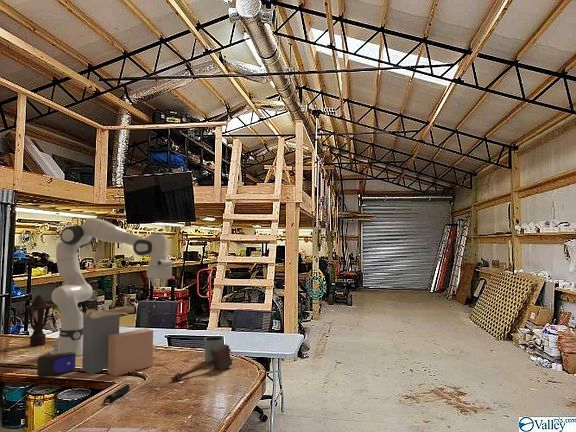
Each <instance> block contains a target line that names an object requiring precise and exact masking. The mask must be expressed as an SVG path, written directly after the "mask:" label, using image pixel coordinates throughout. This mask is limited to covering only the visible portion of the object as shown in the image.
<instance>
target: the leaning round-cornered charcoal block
mask: <svg viewBox="0 0 576 432" xmlns="http://www.w3.org/2000/svg"><path fill="white" fill-rule="evenodd" d="M76 357H77V356H76V354H75V352H67V353H59V354H52V355H51V354H46V355H41V356H38V357H37V360H36V361H37V365H36V367H37V369H36V375H37V376H38V377H41V378H42V377H54V376H55V377H56V376H62V375H66V374H69V373H72V372H74V371H75V369H76Z"/></svg>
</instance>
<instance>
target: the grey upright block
mask: <svg viewBox="0 0 576 432" xmlns="http://www.w3.org/2000/svg"><path fill="white" fill-rule="evenodd" d="M120 315H121V314H117V315H110V316H103V317H101V318H95V319H92V318H88V317H86V316H83V354H82V367H81V370H82V372H84V373H87V374H89V375H93V374H98V373H101V372H100V371H101V370H103V369H108V335H113V334H119V333H120V317H121V316H120Z"/></svg>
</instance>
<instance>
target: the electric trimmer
mask: <svg viewBox="0 0 576 432" xmlns="http://www.w3.org/2000/svg"><path fill="white" fill-rule="evenodd" d="M128 391H130V385H129V384H126V385H124V386H123V387H121V388H119V389H117V390H115V391H114V392H112V393H111V394H108V395H107V396H106V397H105V398H104V399H103V402H102V404H103V403H112V404H113V403H114V402H115V400H118V399H119V398H120V397H121V398H122V397H123V396H125V395H126V394H127V392H128Z"/></svg>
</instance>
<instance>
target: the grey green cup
mask: <svg viewBox="0 0 576 432" xmlns="http://www.w3.org/2000/svg"><path fill="white" fill-rule="evenodd" d="M203 340H204V342H203V343H204V357H205V358H204V361H205V363H208V362H210V361H211V360H212V359H213V357H212V355H211V354H210V353H212V352H211V349H213V348H215V347H218V346H220V345H222V344H224V337H223V336H220V335H219V336H218V335H212V336H205V337H204V339H203Z"/></svg>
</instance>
